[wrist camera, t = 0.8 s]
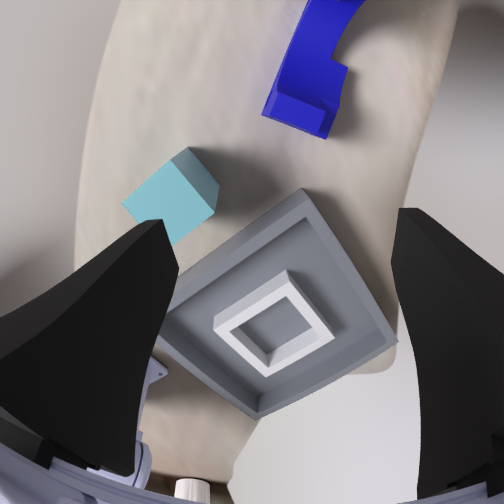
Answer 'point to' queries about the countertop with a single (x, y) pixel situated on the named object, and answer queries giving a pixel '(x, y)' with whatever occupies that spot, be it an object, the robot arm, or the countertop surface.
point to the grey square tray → (274, 312)
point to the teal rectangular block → (176, 196)
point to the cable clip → (312, 69)
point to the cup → (193, 490)
